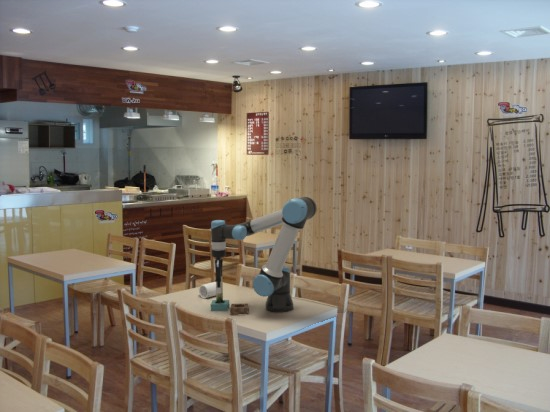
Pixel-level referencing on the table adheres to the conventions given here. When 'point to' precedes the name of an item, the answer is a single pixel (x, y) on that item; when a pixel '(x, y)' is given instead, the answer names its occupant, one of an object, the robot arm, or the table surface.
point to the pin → (220, 294)
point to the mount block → (239, 309)
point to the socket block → (220, 305)
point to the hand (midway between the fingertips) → (219, 292)
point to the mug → (207, 290)
